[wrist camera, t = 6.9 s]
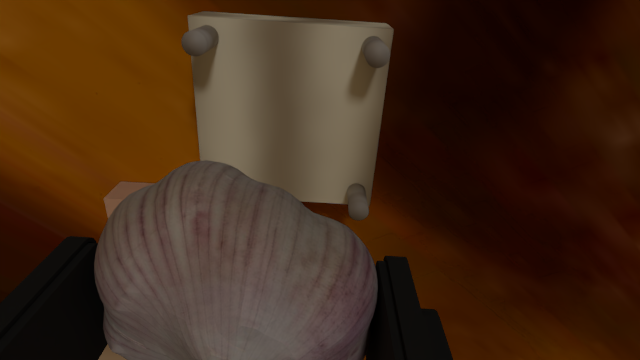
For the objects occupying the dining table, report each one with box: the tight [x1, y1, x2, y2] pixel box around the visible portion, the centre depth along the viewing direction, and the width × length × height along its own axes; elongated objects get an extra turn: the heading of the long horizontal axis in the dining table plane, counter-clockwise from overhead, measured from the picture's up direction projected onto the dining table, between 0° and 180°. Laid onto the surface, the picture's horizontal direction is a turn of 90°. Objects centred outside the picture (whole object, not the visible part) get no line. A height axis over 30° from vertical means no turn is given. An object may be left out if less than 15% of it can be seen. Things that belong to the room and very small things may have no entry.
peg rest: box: [182, 11, 394, 220], centre depth 24 cm, size 11×11×6 cm
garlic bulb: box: [94, 160, 378, 360], centre depth 9 cm, size 8×7×8 cm
